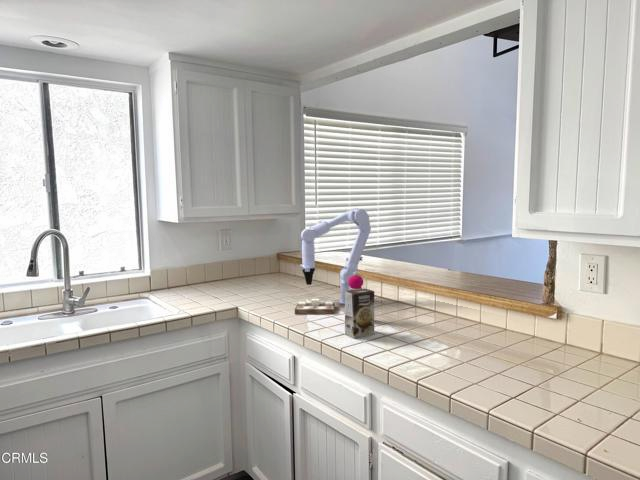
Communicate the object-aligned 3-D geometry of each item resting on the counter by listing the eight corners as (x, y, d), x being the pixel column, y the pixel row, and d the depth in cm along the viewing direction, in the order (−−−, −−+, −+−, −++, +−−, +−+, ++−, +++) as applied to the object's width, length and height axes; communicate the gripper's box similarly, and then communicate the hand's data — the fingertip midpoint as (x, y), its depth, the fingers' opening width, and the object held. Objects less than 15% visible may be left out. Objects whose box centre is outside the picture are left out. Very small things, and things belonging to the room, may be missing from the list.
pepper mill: (367, 319, 181) (367, 270, 178) (361, 324, 174) (361, 273, 172) (350, 317, 184) (350, 269, 181) (344, 322, 177) (343, 272, 175)
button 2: (333, 308, 198) (332, 301, 198) (332, 310, 195) (332, 303, 194) (325, 308, 198) (325, 301, 198) (325, 310, 195) (325, 303, 195)
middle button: (319, 305, 198) (319, 298, 198) (319, 307, 195) (318, 300, 195) (312, 305, 198) (312, 298, 198) (311, 307, 195) (311, 300, 195)
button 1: (306, 308, 199) (305, 301, 198) (305, 310, 195) (305, 303, 195) (298, 308, 199) (298, 301, 199) (298, 310, 196) (298, 303, 195)
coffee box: (353, 338, 157) (353, 294, 155) (344, 333, 163) (343, 290, 161) (375, 334, 161) (375, 290, 159) (365, 329, 167) (365, 287, 165)
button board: (334, 306, 201) (334, 301, 201) (334, 314, 189) (334, 308, 189) (297, 307, 202) (297, 301, 202) (294, 314, 190) (294, 308, 190)
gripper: (301, 253, 211) (302, 281, 212) (297, 257, 197) (298, 287, 198) (316, 252, 210) (316, 281, 212) (313, 257, 196) (314, 287, 198)
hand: (309, 284), depth 205 cm, fingers closed
